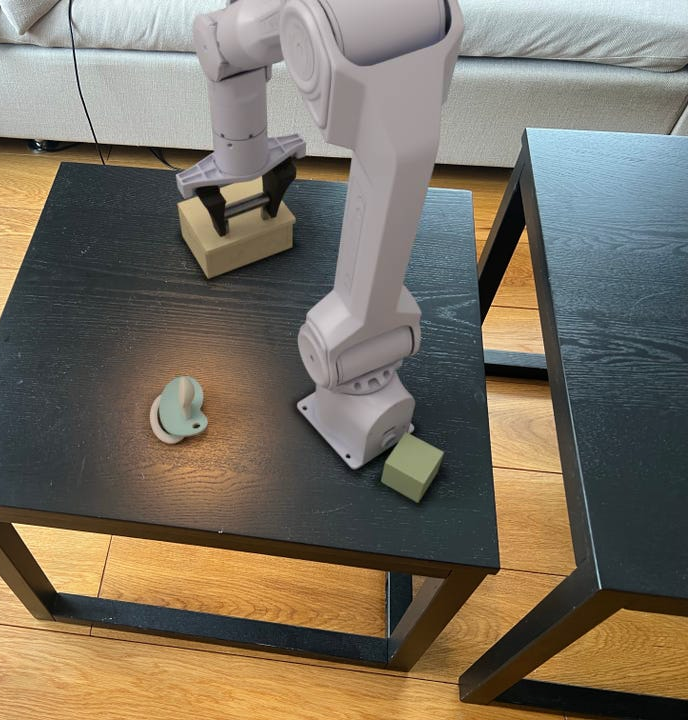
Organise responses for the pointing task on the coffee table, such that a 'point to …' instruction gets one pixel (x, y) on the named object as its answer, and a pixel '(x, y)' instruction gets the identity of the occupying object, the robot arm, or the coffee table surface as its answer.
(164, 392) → the pacifier
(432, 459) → the block
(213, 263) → the wooden box
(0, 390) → the coffee table surface
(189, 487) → the coffee table surface
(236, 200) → the lid
